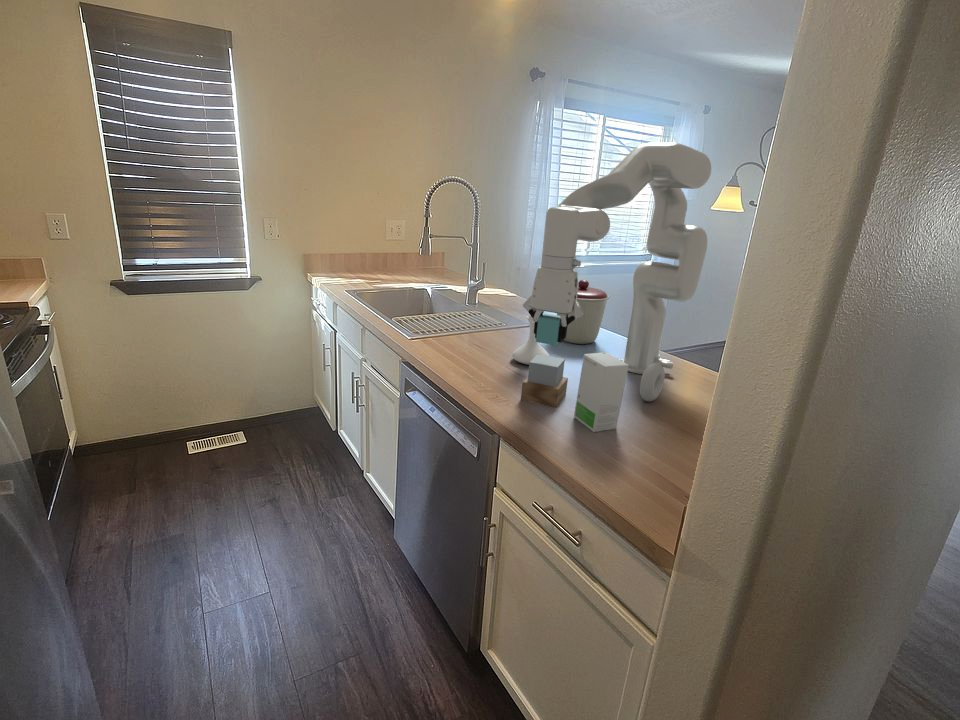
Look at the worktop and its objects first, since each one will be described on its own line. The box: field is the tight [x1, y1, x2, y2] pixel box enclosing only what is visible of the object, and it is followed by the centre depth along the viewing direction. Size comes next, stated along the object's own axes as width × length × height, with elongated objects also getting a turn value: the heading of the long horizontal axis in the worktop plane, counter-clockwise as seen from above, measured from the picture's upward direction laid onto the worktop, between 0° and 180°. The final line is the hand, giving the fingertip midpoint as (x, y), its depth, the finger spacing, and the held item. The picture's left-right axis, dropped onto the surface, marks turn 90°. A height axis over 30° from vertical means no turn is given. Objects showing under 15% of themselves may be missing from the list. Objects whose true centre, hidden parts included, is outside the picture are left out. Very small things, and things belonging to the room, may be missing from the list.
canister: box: [556, 279, 610, 345], centre depth 177 cm, size 18×18×21 cm
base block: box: [520, 376, 569, 409], centre depth 129 cm, size 9×9×5 cm
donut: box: [639, 363, 666, 402], centre depth 130 cm, size 10×4×10 cm, turn 141°
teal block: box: [536, 313, 561, 347], centre depth 124 cm, size 5×5×6 cm
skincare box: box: [573, 351, 629, 433], centre depth 114 cm, size 8×7×16 cm
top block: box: [527, 354, 565, 387], centre depth 127 cm, size 7×7×5 cm
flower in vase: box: [511, 309, 551, 366], centre depth 152 cm, size 13×11×25 cm
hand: (549, 338), depth 124 cm, fingers closed on teal block, 5 cm apart
